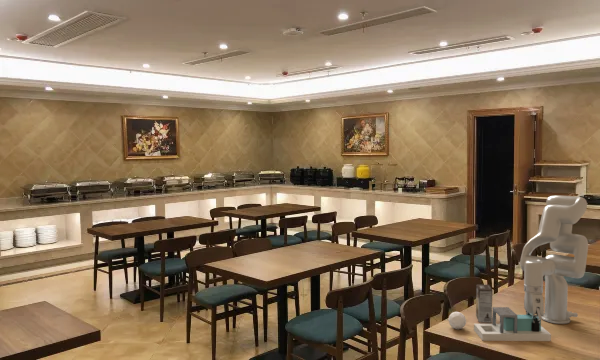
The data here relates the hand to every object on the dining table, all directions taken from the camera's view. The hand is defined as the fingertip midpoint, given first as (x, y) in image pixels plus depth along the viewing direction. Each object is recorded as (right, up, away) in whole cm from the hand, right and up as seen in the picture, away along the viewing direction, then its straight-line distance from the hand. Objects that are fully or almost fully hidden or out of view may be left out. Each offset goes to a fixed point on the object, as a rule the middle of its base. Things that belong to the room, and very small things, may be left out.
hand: (532, 328), depth 214 cm
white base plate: (-9, -3, +1) cm, 10 cm away
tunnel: (-12, 0, +1) cm, 12 cm away
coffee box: (-14, -2, +21) cm, 25 cm away
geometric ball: (-30, -3, +10) cm, 32 cm away
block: (-5, 0, 0) cm, 5 cm away
